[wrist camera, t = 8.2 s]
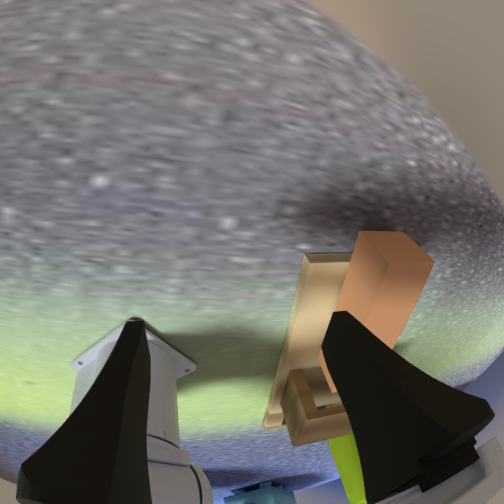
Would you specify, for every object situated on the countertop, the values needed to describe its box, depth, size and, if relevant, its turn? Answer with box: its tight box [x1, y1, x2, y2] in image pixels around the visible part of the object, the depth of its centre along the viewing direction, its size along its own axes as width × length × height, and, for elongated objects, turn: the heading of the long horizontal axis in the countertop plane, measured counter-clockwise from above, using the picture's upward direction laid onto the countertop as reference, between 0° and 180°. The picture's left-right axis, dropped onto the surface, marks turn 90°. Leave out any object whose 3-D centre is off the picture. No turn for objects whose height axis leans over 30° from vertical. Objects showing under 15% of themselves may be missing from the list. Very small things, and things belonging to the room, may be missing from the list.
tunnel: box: [280, 369, 353, 447], centre depth 28 cm, size 6×8×6 cm
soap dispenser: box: [327, 433, 367, 504], centre depth 35 cm, size 6×7×20 cm
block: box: [318, 231, 435, 393], centre depth 22 cm, size 13×4×4 cm, turn 175°
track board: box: [262, 253, 353, 431], centre depth 29 cm, size 25×10×1 cm, turn 175°
